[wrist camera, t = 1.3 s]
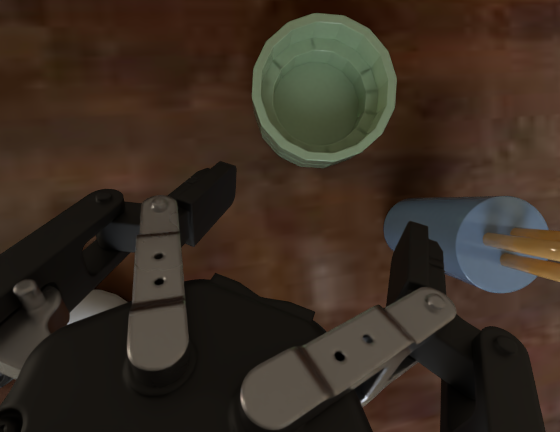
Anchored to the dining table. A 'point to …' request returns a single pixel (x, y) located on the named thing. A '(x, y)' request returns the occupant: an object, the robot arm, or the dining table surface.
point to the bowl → (322, 90)
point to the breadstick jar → (483, 238)
